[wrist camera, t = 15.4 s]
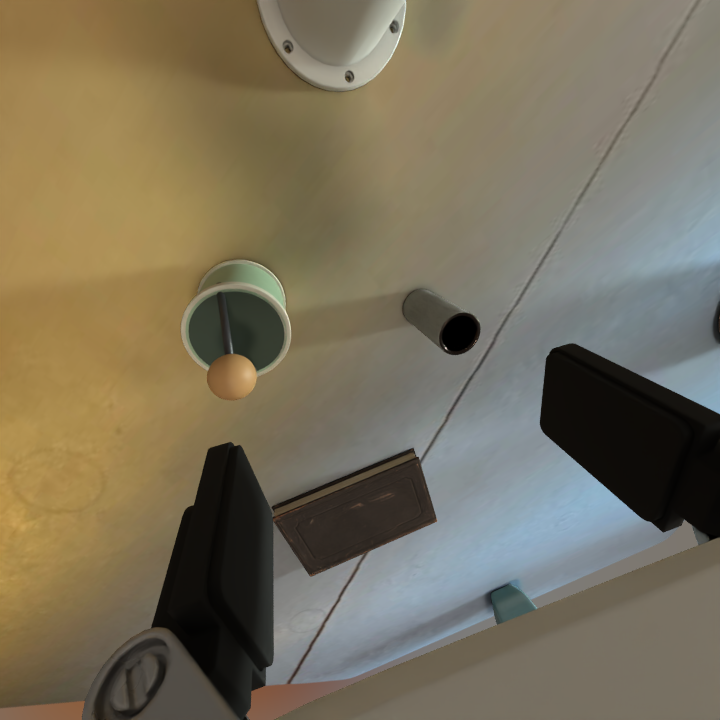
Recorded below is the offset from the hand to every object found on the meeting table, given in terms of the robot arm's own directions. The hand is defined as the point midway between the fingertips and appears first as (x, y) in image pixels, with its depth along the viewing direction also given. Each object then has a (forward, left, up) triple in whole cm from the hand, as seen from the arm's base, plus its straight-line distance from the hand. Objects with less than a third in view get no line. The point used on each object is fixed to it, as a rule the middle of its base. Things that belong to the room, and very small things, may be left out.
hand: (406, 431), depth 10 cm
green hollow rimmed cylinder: (+7, -8, -22) cm, 24 cm away
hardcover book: (+39, -3, -31) cm, 50 cm away
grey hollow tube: (+8, +12, -31) cm, 34 cm away
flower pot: (+81, +22, -31) cm, 90 cm away
